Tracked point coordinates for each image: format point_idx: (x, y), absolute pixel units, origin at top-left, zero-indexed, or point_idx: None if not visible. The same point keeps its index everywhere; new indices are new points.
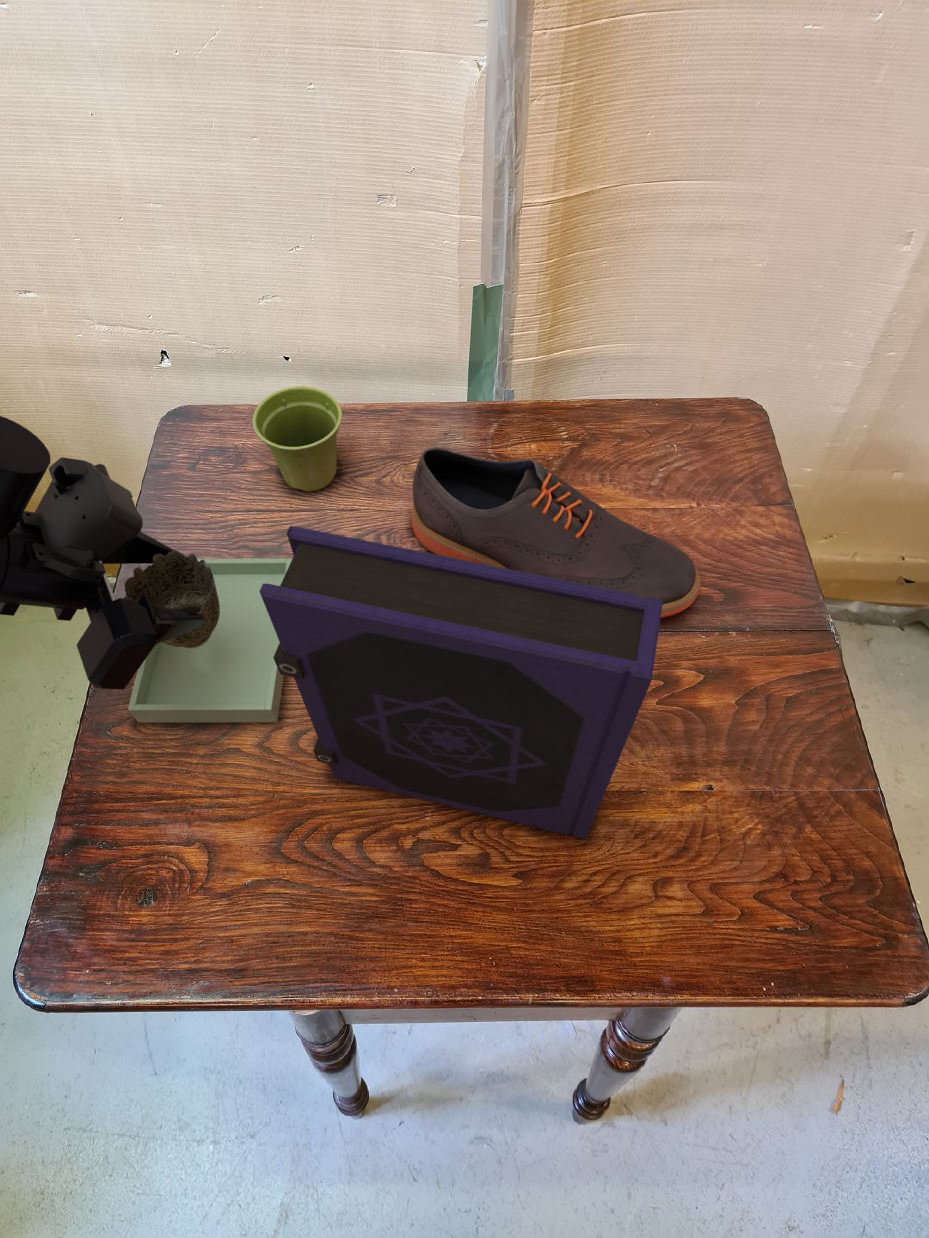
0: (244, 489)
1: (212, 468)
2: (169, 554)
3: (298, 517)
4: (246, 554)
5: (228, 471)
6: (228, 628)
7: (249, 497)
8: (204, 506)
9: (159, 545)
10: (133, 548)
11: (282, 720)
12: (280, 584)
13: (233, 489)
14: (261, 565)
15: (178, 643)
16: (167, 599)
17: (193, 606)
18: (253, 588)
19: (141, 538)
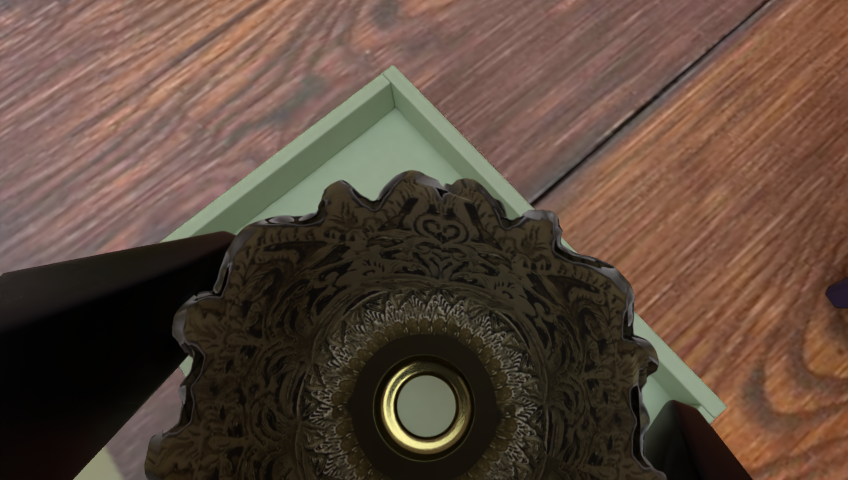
0: (126, 29)
1: (20, 37)
2: (234, 264)
3: (285, 4)
4: (262, 139)
5: (59, 20)
6: None
7: (152, 36)
8: (79, 115)
9: (159, 262)
10: (42, 398)
11: None
12: (399, 140)
13: (104, 44)
14: (340, 128)
15: None
16: (302, 398)
17: (379, 346)
18: (357, 188)
19: (37, 312)
